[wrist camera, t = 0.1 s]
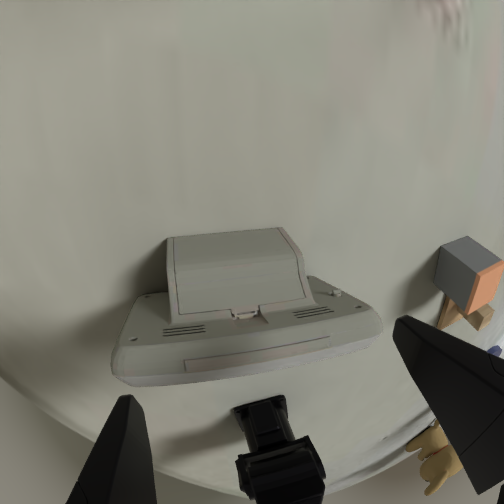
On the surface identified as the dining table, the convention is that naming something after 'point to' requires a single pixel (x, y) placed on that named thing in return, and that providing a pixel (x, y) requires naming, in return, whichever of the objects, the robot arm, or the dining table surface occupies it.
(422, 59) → the dining table surface
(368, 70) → the dining table surface
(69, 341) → the dining table surface
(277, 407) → the robot arm
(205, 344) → the digital clock
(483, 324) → the tan piece
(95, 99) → the dining table surface
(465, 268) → the grey-topped salmon cube
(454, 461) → the toy
